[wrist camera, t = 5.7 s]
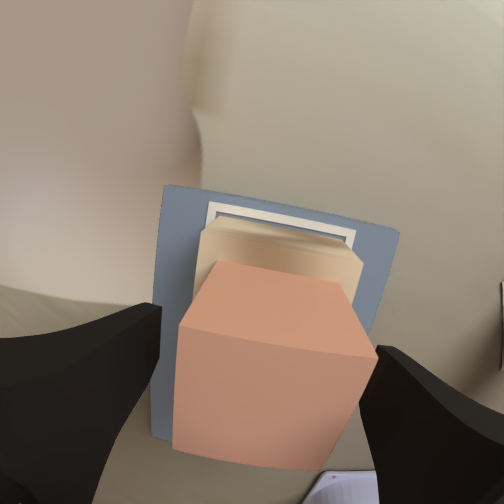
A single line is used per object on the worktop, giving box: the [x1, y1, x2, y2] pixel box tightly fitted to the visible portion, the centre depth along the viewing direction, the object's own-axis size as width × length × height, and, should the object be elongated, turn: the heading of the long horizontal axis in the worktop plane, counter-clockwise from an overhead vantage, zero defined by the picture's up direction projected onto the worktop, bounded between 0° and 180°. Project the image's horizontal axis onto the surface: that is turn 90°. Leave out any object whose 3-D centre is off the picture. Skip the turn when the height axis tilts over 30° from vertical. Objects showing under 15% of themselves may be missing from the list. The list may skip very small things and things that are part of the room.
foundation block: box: [192, 216, 364, 305], centre depth 14 cm, size 6×6×4 cm
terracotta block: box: [172, 260, 379, 471], centre depth 9 cm, size 4×4×5 cm
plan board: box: [150, 185, 400, 442], centre depth 17 cm, size 12×18×1 cm, turn 170°
